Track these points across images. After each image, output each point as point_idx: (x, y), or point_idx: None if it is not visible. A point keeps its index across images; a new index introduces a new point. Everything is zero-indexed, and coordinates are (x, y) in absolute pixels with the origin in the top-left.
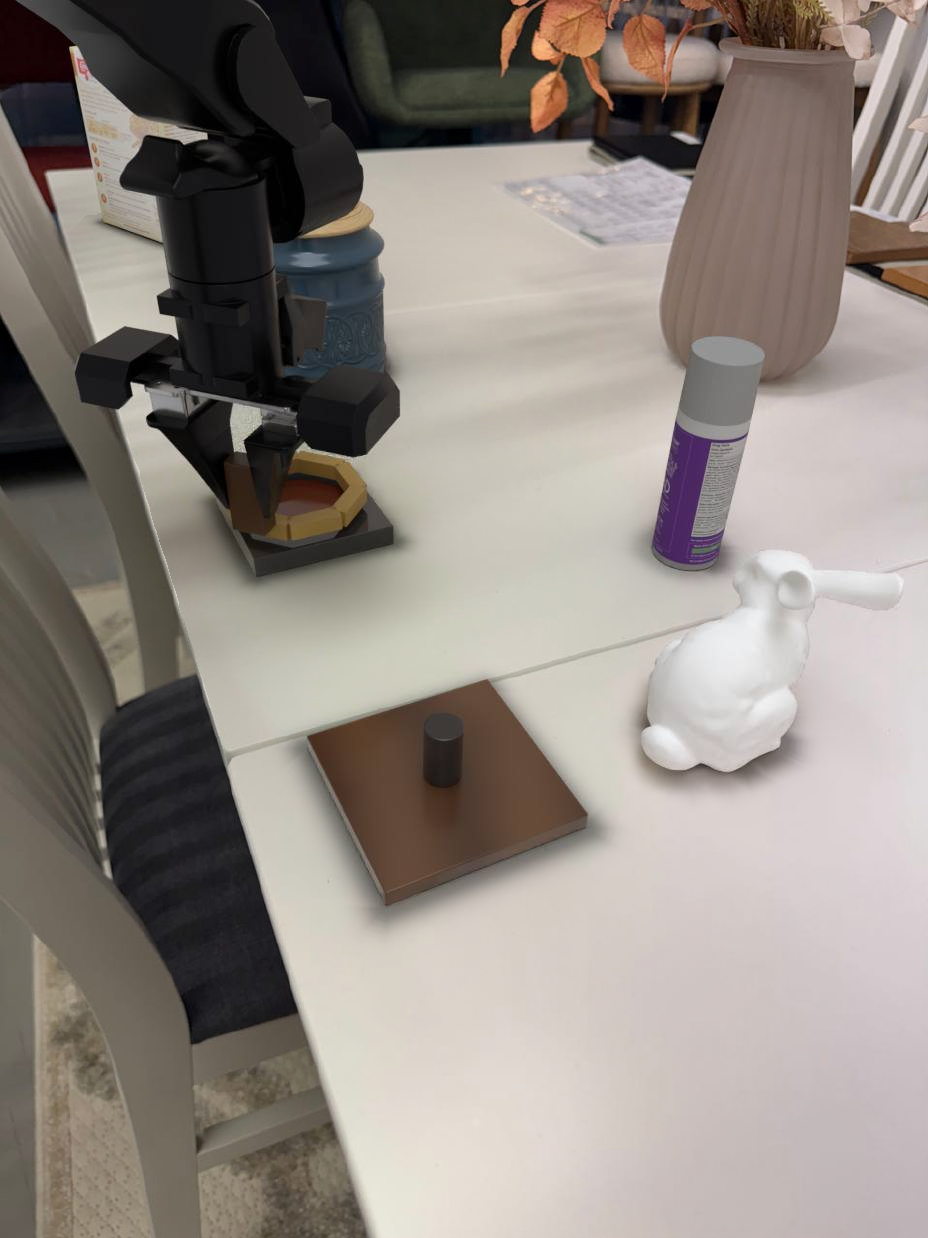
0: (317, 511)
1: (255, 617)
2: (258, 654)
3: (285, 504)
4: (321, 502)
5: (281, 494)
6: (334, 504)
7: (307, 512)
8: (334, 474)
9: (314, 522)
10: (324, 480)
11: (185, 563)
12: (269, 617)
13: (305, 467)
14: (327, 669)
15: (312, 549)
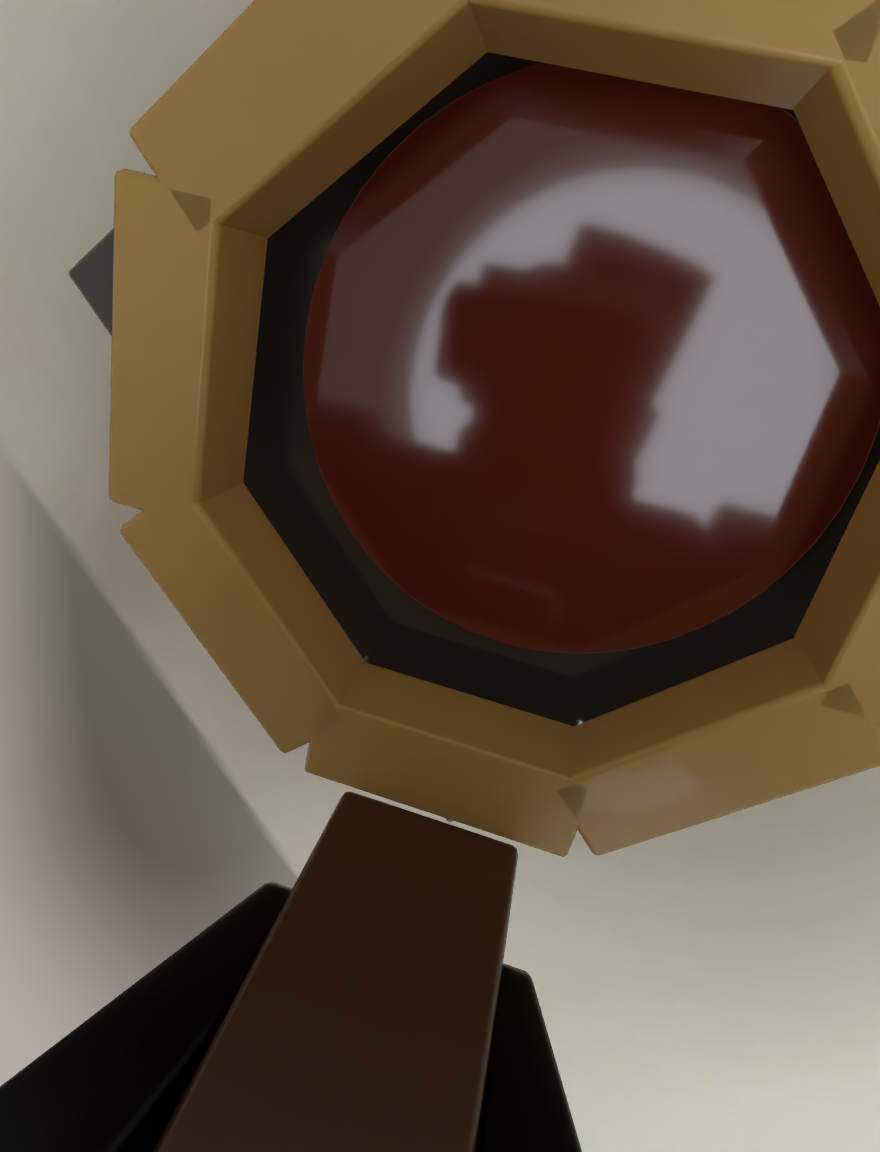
0: (731, 731)
1: (515, 940)
2: (561, 1065)
3: (479, 409)
4: (689, 360)
5: (560, 1088)
6: (845, 660)
7: (618, 482)
8: (799, 96)
9: (720, 815)
10: None
11: (208, 696)
12: (558, 943)
13: (543, 43)
14: (771, 1134)
15: None
